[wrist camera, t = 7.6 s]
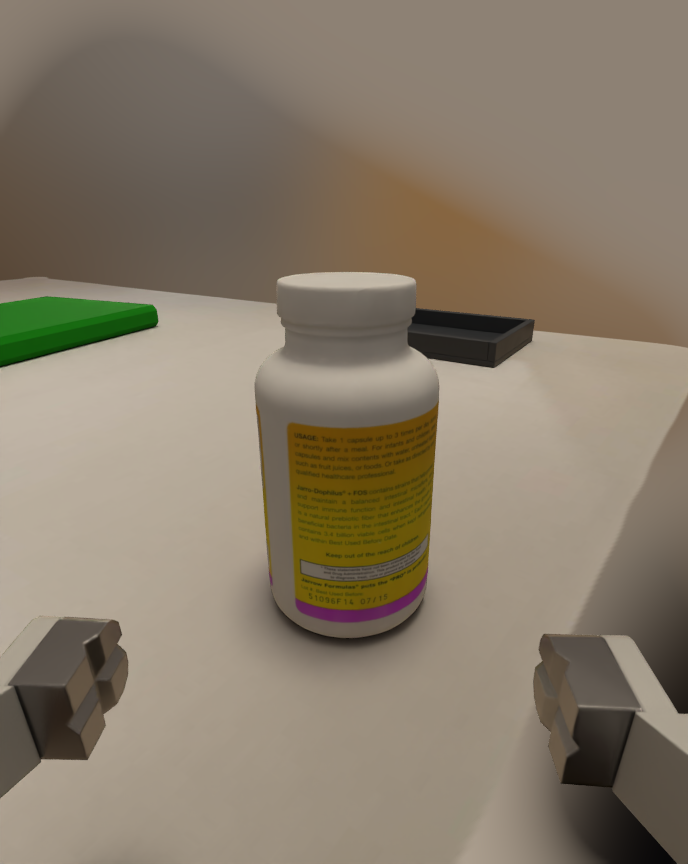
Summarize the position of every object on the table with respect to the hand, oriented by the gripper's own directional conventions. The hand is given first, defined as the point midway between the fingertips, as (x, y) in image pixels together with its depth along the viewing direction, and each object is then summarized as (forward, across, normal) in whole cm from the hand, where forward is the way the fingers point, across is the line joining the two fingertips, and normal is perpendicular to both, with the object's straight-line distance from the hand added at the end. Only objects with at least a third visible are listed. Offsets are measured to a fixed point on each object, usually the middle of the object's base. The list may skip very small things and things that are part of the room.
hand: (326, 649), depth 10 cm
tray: (+56, -9, +7) cm, 57 cm away
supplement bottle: (+10, 0, +7) cm, 13 cm away
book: (+56, +46, +7) cm, 73 cm away
